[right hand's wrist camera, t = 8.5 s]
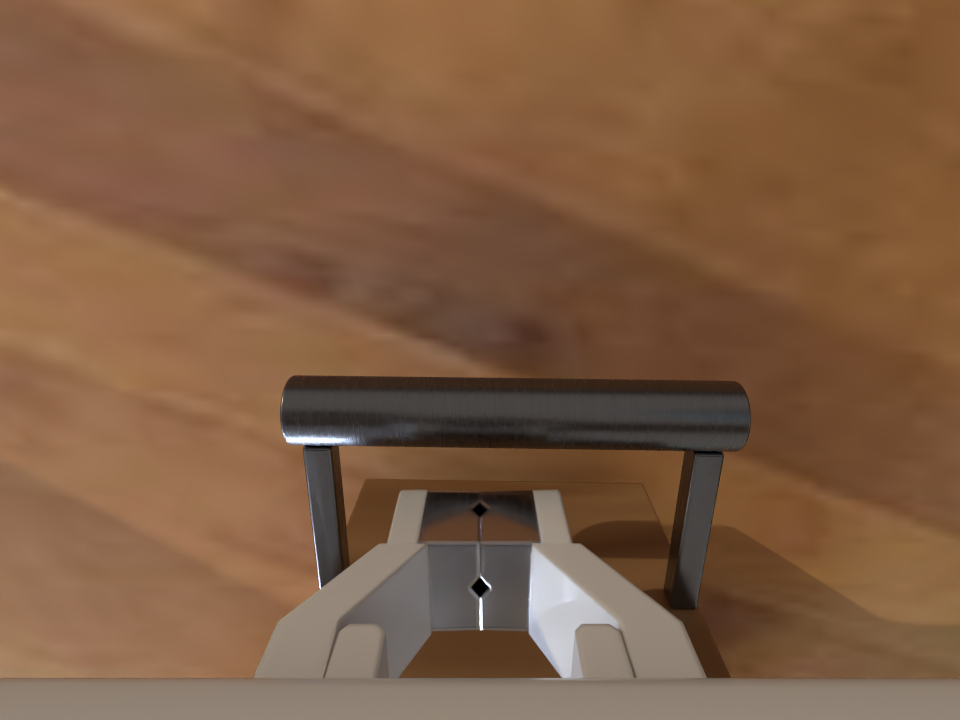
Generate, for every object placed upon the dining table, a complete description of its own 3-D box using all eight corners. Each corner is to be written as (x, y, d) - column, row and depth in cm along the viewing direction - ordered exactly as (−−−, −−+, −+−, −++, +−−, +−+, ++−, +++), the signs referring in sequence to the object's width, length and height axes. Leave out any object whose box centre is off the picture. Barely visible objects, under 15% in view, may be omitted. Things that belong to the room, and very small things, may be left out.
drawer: (348, 312, 16) (236, 434, 9) (667, 315, 15) (805, 443, 9) (387, 797, 23) (343, 1070, 16) (604, 803, 23) (652, 1080, 16)
